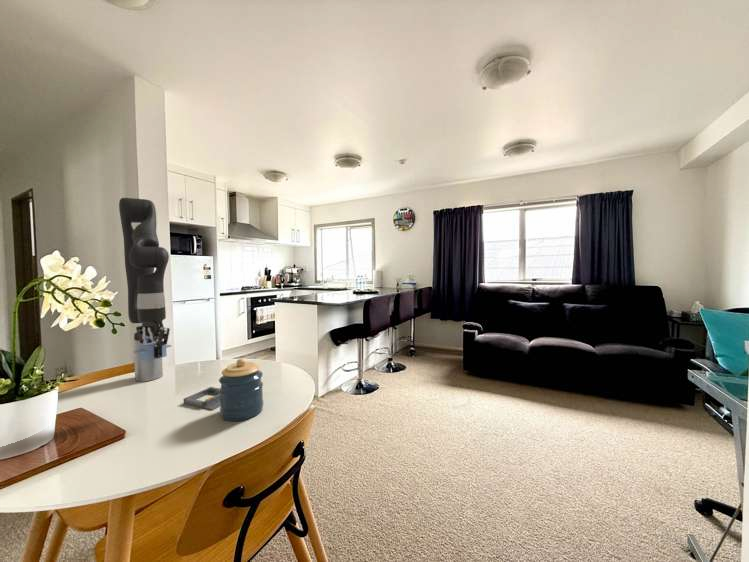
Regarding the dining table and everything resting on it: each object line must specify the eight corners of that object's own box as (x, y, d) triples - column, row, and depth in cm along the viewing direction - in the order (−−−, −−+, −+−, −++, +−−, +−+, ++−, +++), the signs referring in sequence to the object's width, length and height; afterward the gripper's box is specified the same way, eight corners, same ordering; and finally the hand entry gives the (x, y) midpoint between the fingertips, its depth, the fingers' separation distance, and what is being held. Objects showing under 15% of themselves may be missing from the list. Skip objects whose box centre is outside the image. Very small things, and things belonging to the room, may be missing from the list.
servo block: (134, 361, 98) (133, 344, 98) (164, 353, 107) (163, 337, 106) (142, 363, 96) (141, 345, 96) (171, 354, 105) (171, 338, 105)
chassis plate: (183, 403, 104) (183, 397, 104) (211, 391, 115) (210, 385, 114) (212, 410, 100) (212, 403, 99) (238, 396, 110) (238, 390, 110)
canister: (215, 425, 90) (213, 367, 89) (224, 405, 103) (223, 354, 102) (261, 418, 94) (260, 363, 93) (265, 400, 106) (263, 351, 105)
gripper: (125, 306, 100) (128, 357, 101) (153, 308, 95) (156, 362, 95) (149, 304, 107) (151, 351, 108) (177, 305, 102) (179, 355, 102)
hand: (153, 356), depth 102 cm, fingers closed on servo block, 4 cm apart
